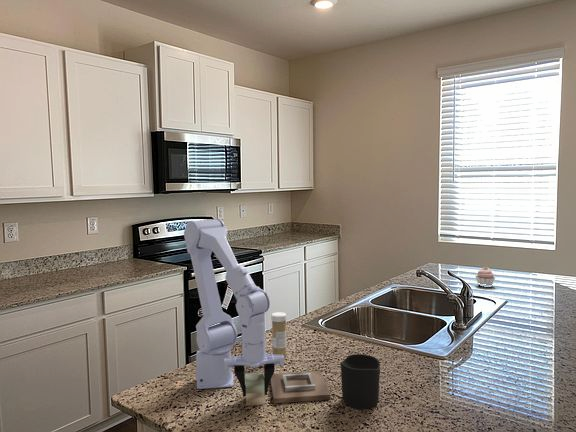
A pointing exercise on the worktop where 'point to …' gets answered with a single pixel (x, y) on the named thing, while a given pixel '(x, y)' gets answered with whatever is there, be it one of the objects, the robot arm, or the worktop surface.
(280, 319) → the sprinkles bottle
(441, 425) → the worktop surface
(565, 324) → the worktop surface
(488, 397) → the worktop surface
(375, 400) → the pen holder
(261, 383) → the block stack
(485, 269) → the cupcake
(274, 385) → the walnut board
